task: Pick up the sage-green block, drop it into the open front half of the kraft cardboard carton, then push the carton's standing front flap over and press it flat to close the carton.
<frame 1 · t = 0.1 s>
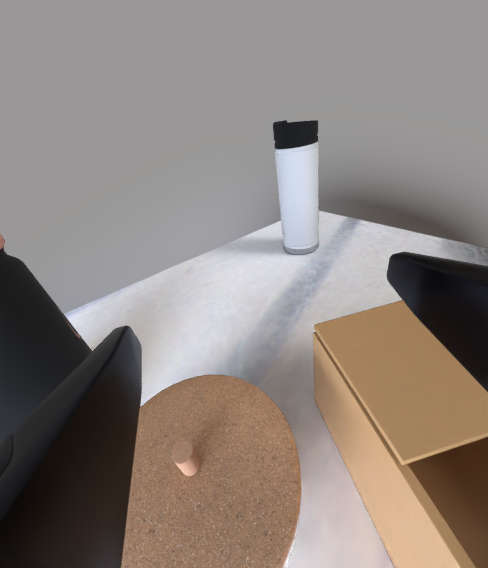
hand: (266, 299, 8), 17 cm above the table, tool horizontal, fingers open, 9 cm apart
trinket box: (225, 511, 17), on the table
coffee jar: (65, 419, 25), on the table
carton: (477, 490, 16), on the table
travel mug: (300, 248, 46), on the table
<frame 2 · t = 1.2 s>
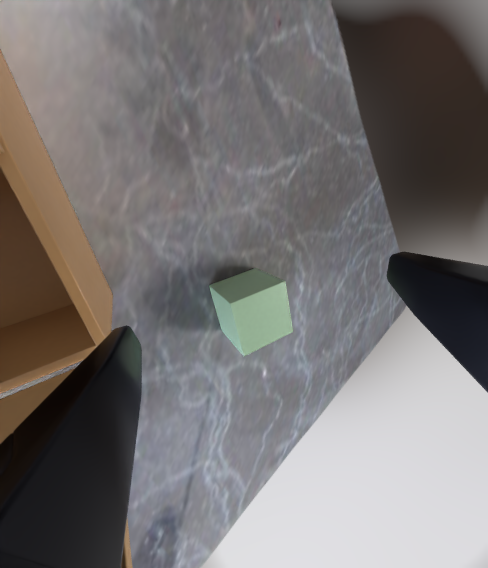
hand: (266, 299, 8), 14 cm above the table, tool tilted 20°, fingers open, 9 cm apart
block: (238, 299, 25), on the table
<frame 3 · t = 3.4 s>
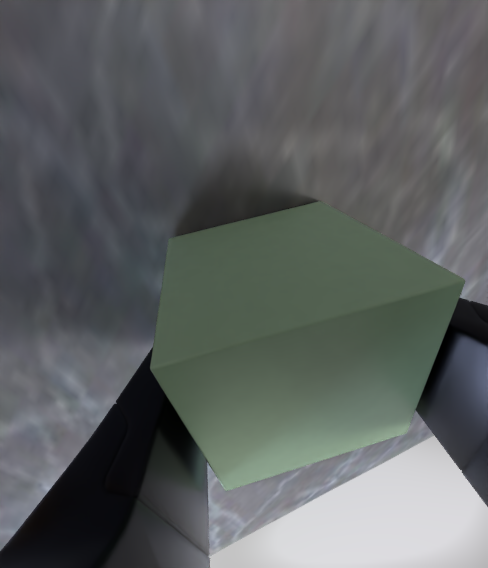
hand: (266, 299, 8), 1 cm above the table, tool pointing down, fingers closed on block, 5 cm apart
block: (257, 283, 9), on the table, touching gripper
when the fingers open (7 cm above the table, at t = 8.7 s): block drops 5 cm, resting on carton.
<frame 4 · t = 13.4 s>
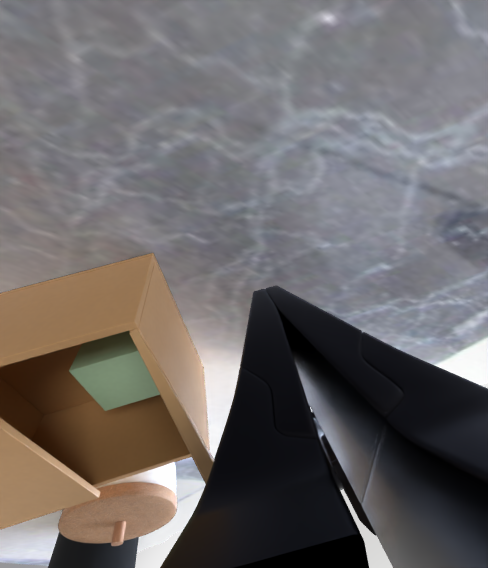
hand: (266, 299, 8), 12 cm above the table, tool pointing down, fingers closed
trinket box: (134, 438, 31), on the table
coffee jar: (106, 507, 39), on the table
flap: (214, 470, 12), point 13 cm above the table, hinge at 115.2°, touching gripper
carton: (91, 344, 23), on the table
block: (133, 336, 23), resting on carton
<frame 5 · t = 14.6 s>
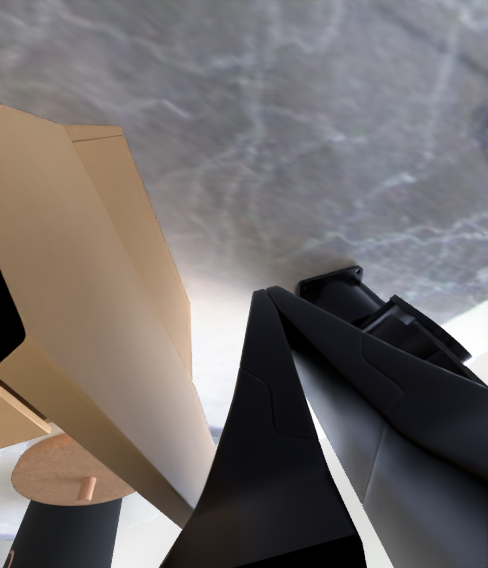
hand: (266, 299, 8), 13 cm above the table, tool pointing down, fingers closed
trinket box: (112, 393, 27), on the table
coffee jar: (85, 476, 35), on the table
flap: (161, 368, 8), point 13 cm above the table, hinge at 103.1°, touching gripper
carton: (49, 260, 18), on the table
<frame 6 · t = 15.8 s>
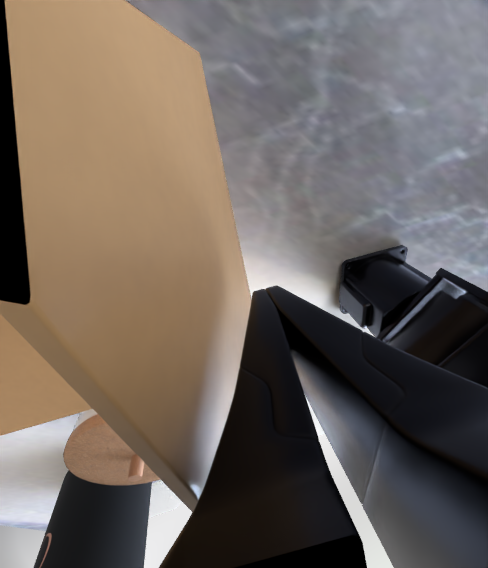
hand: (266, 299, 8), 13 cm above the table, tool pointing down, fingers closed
trinket box: (149, 375, 27), on the table
coffee jar: (113, 463, 35), on the table
flap: (222, 324, 8), point 13 cm above the table, hinge at 72.3°
carton: (104, 232, 18), on the table
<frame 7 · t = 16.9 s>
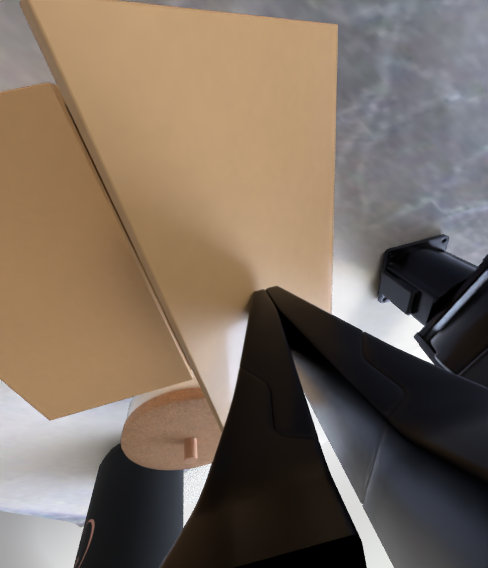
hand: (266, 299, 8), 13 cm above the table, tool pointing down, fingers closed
trinket box: (189, 363, 27), on the table
coffee jar: (144, 453, 35), on the table
flap: (275, 280, 9), point 12 cm above the table, hinge at 36.1°, touching gripper
carton: (163, 218, 19), on the table
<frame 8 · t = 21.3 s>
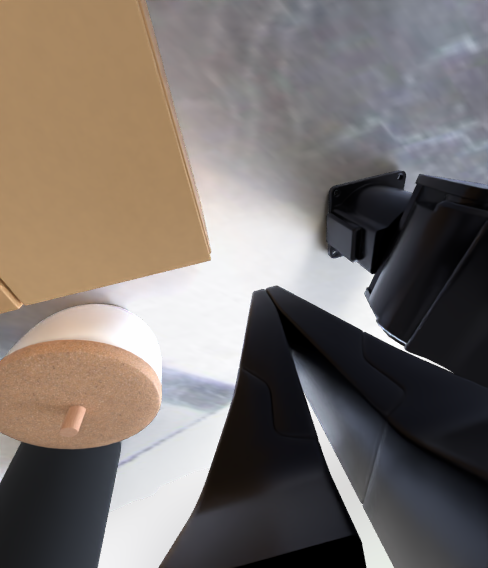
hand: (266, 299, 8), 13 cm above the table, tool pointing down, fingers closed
trinket box: (107, 328, 23), on the table
coffee jar: (76, 438, 31), on the table
flap: (15, 88, 7), point 9 cm above the table, hinge at -1.0°
carton: (28, 122, 15), on the table
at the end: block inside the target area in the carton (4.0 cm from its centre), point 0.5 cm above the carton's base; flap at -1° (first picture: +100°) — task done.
